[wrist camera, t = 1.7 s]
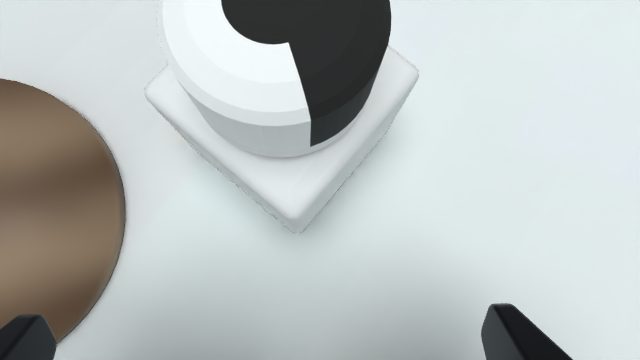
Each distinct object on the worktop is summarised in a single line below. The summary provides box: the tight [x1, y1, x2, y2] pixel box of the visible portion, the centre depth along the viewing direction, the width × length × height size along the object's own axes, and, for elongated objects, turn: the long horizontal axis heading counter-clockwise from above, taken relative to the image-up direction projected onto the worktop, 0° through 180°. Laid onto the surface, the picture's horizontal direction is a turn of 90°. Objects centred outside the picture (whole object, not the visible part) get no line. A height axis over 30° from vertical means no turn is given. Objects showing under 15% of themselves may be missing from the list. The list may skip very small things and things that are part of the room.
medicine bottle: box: [145, 0, 419, 234], centre depth 17 cm, size 7×7×12 cm
